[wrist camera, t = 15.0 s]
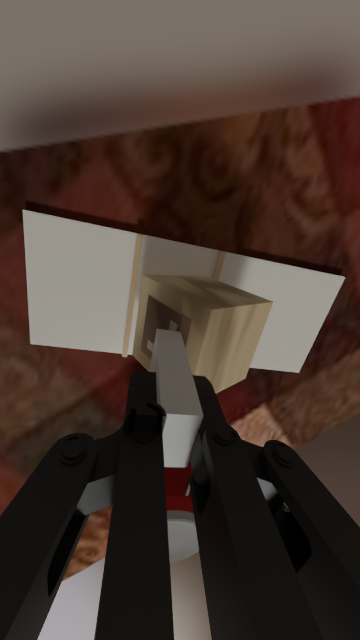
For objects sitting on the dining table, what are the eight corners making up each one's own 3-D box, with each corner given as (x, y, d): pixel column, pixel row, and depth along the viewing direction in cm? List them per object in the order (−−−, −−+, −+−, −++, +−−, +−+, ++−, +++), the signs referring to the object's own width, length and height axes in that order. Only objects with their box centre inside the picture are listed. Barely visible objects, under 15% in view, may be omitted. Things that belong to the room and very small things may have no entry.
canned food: (128, 416, 28) (116, 526, 18) (191, 412, 29) (213, 514, 19) (131, 457, 31) (122, 571, 21) (188, 452, 32) (206, 559, 22)
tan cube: (184, 410, 14) (245, 378, 19) (210, 309, 12) (274, 301, 16) (131, 355, 19) (191, 340, 24) (141, 274, 16) (206, 276, 21)
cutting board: (33, 340, 22) (27, 346, 21) (26, 210, 18) (19, 209, 17) (295, 369, 28) (301, 375, 27) (340, 275, 23) (349, 278, 22)
